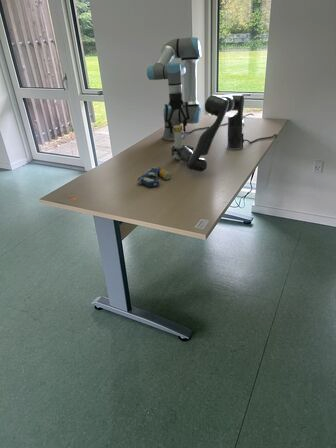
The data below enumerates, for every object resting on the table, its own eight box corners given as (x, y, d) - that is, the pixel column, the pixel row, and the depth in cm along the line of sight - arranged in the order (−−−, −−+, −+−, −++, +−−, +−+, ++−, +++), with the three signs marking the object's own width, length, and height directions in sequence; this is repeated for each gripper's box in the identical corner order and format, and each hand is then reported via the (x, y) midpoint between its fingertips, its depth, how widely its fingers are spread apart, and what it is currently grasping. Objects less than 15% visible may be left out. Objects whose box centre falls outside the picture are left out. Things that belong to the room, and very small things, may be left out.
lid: (179, 131, 199) (179, 127, 198) (171, 131, 202) (171, 127, 200) (183, 129, 203) (183, 125, 202) (176, 128, 205) (176, 124, 204)
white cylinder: (181, 159, 209) (179, 128, 198) (174, 158, 211) (172, 127, 201) (184, 157, 212) (183, 126, 202) (178, 156, 214) (176, 125, 204)
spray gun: (175, 173, 189) (152, 171, 196) (175, 166, 187) (151, 164, 193) (159, 190, 174) (134, 186, 180) (158, 182, 172) (133, 179, 178)
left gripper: (191, 89, 196) (192, 128, 207) (156, 93, 193) (160, 132, 205) (194, 91, 189) (195, 131, 201) (159, 95, 187) (162, 136, 198)
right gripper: (198, 146, 196) (187, 139, 210) (174, 150, 193) (166, 142, 207) (198, 158, 200) (188, 150, 214) (175, 163, 197) (167, 154, 211)
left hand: (177, 132), depth 203 cm, fingers open, 7 cm apart
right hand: (177, 146), depth 210 cm, fingers closed on white cylinder, 5 cm apart
